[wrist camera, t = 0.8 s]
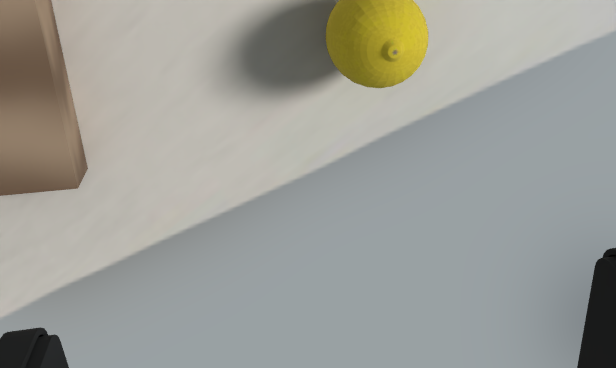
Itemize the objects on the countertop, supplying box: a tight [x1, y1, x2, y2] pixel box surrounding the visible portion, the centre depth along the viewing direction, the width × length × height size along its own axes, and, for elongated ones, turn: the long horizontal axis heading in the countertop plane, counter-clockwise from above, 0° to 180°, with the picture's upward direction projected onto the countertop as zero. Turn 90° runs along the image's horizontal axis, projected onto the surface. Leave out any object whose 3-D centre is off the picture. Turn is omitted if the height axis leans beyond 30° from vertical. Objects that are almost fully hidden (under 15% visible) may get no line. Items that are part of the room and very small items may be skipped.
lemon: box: [326, 0, 428, 88], centre depth 33 cm, size 6×6×8 cm
